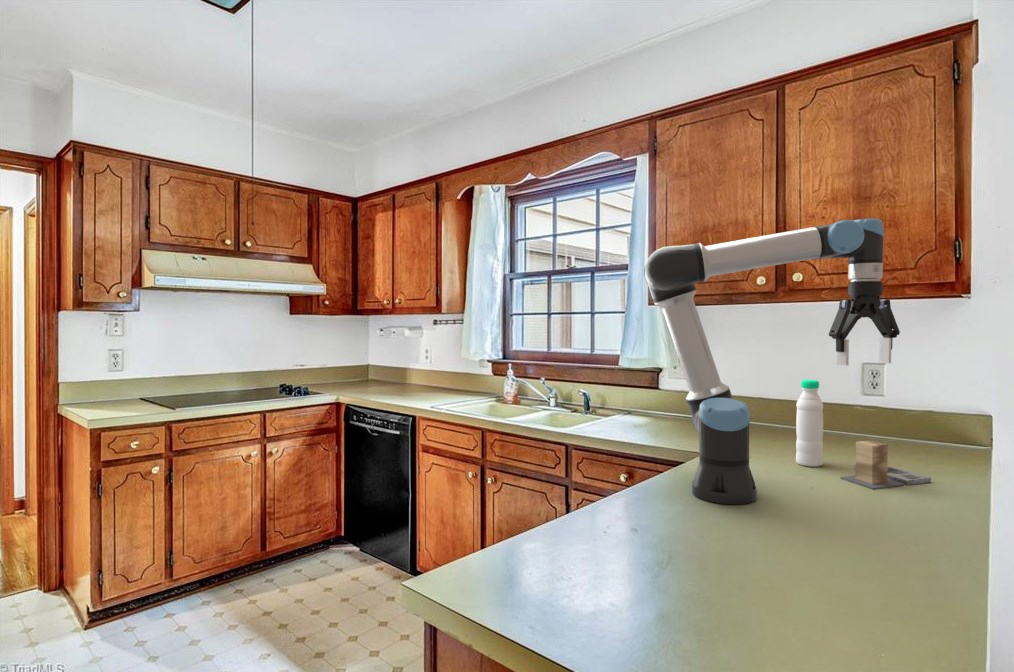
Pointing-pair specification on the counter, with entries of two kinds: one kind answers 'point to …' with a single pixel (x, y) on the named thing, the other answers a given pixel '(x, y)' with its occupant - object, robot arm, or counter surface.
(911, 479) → the plate with rectangular hole
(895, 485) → the mat
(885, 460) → the peg
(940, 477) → the counter surface
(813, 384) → the white bottle
